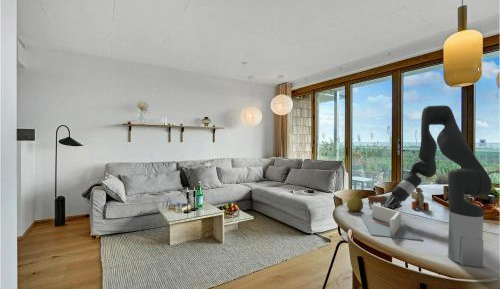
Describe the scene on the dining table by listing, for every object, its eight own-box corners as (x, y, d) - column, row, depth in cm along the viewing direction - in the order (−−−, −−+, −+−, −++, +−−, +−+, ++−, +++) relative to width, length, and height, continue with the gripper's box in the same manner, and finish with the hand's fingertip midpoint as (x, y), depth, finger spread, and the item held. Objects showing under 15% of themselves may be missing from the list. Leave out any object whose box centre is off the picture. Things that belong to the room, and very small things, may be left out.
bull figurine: (391, 208, 153) (391, 195, 153) (368, 207, 156) (368, 194, 156) (388, 206, 157) (388, 194, 157) (366, 205, 160) (366, 193, 160)
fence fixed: (396, 226, 121) (396, 211, 121) (401, 227, 120) (401, 212, 120) (389, 236, 109) (389, 219, 109) (394, 237, 108) (394, 220, 108)
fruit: (344, 209, 150) (344, 190, 150) (355, 208, 153) (355, 189, 153) (354, 213, 142) (354, 193, 142) (366, 212, 145) (366, 192, 145)
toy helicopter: (413, 210, 149) (414, 188, 149) (405, 202, 169) (406, 182, 168) (429, 211, 146) (430, 189, 146) (419, 203, 166) (420, 183, 165)
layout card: (423, 241, 104) (423, 239, 104) (371, 235, 110) (371, 234, 110) (400, 217, 135) (400, 217, 135) (360, 214, 140) (360, 213, 140)
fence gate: (397, 224, 122) (397, 211, 121) (394, 225, 121) (394, 211, 121) (373, 216, 134) (374, 204, 134) (371, 216, 134) (371, 204, 134)
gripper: (390, 183, 137) (369, 205, 137) (407, 188, 124) (384, 212, 124) (399, 192, 138) (378, 214, 137) (417, 198, 124) (393, 222, 124)
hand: (381, 213), depth 131 cm, fingers closed
